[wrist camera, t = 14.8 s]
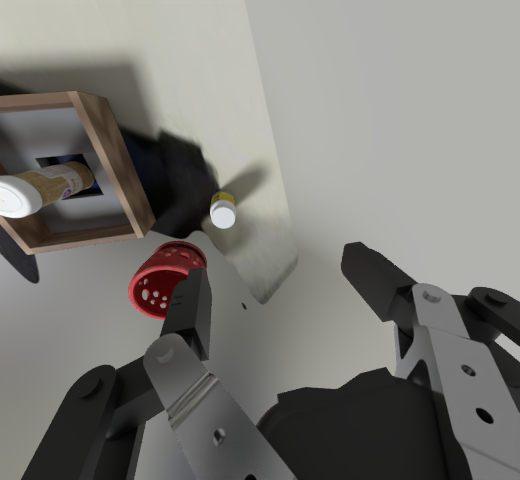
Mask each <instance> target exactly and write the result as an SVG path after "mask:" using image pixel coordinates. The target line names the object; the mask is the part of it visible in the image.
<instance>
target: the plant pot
mask: <svg viewBox="0 0 520 480" xmlns="http://www.w3.org/2000/svg"><path fill="white" fill-rule="evenodd" d="M202 267H204V268H205V271H206V267H207V261H206V257H205V255H204V254H203V252H202V251H201V250H200V249H199V248H198V247H196V246H194V245H193V244H191V243H188V242H184V241H172V242H168V243H165V244H163V245H162V246H160V247H158V248H157V249H156V251H155V252H154V254H153V255H152V256H151V257H150V258H149V259H148V260H147V261H146V262H145V263H144V264H143V265H142V266H141V267H140V268H139V270H138V271H137V272H136V274H135V275H134V277H133V279H132V280H131V283H130V285H129V289H128V292H129V298H130V300H131V302H132V304H133V305H134V306H135V307H136V309H138V310H139V311H140V312H141V313H143V314H145V315H147V316H149V317H152V318H156V319H160V320H165V317H166V314H167V310H168V307H169V303H170V300H171V297H172V293H173V290H174V288H175V287H176V286H177V284H178V283H179V282H180V281H183V280H187V276H188V272H189V270H190V269H196V268H202ZM206 274H207V271H206ZM144 280H146V284H145V285H144ZM143 290H145V291H146V292H147V295H148V298H147V300H144V299H143V298H142V292H143ZM153 292H157V294H158V297H154V295H153ZM163 297H166V298H167V300H165V301H164V300H162V298H163ZM150 301H153V302H154V304H151V302H150ZM160 304H165V305H166V307H165V308H161V307H160Z"/></svg>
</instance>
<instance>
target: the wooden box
mask: <svg viewBox="0 0 520 480" xmlns="http://www.w3.org/2000/svg"><path fill="white" fill-rule="evenodd" d="M72 154H83V156H84V158H85V160H86V161H87V163H88V165H89V167H90V169H91V171H92V173H93V175H94V177H95V179H96V181H97V183H98V185H99V186H100V188H101V190H102V192H103V193H95V194H87V195H79V196H71V197H70V196H68V197H66V198H63V199H61V200H57V201H55V202H53V203H51V204H48V205H46V206H44V207H41V208H40V209H39V210H38V211H37V212H35V213H33V214H30V215H28V216H25V217H21V218H10V217H6V216H2V215H0V224H1V226H2V227H3V228H4V229H5V230H6V231H7V232H8V233H9V235H10V236H11V237H12V238H13V239H14V240H15V241H16V243H17V244H18V245H19V246H20V247H21V248H22V249H23V250H24V252H25V253H26V254H27V255H30V254H36V253H43V252H50V251H56V250H63V249H70V248H77V247H83V246H90V245H96V244H103V243H110V242H117V241H123V240H130V239H137V238H143V237H145V235H146V234H147V232H148V231H149V230H150V228H151V227H152V225H153V224H154V223H155V221H156V219H155V217H154V215H153V212H152V210H151V207H150V205H149V202H148V200H147V197H146V195H145V192H144V190H143V187H142V185H141V182H140V180H139V177H138V175H137V172H136V170H135V167H134V165H133V162H132V160H131V158H130V155H129V153H128V150H127V148H126V145H125V143H124V140H123V138H122V135H121V133H120V130H119V128H118V125H117V123H116V120H115V118H114V115H113V113H112V110H111V108H110V105H109V103H108V101H107V99H106V98H102V97H99V96H95V95H91V94H87V93H83V92H79V91H67V92H52V93H37V94H22V95H8V96H0V176H8V175H10V176H11V175H15V174H20V173H23V172H26V171H30V170H35V169H40V168H44V167H49V166H51V165H50V163H49V162H48V160H47V158H46V157H52V156H62V155H72Z"/></svg>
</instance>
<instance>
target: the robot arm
mask: <svg viewBox="0 0 520 480" xmlns="http://www.w3.org/2000/svg"><path fill="white" fill-rule="evenodd" d="M341 270H342V273H343V275H344V276H345V277H346V278H347V280H348V281H349V282H350V283H351V284H352V286H353V287H354V288H355V289H356V290H357V292H358V293H359V294H360V295H361V296H362V298H363V299H364V300H365V301H366V303H367V304H368V305H369V306H370V307H371V309H372V310H373V311H374V312H375V313H376V315H377V316H378V317H379V318H380V319H381V321H382V322H386V321H391V320H393V321H394V322H395V326H394V336H395V347H396V361H397V365H396V371H395V376H392V375H391V374H390V372H389V371H388V369H387V368H386V367H384V368H380V369H376V370H372V371H368V372H364V373H360V374H359V375H358V376H356V377H355V378H353V379H352V380H350V381H349V382H347V383H346V384H345V385H343V386H342V387H340V388H338V389H324V388H310V387H305V388H300V389H296V390H292V391H288V392H284V393H280V394H277V398H278V403H277V404H275V405H274V406H273V407H271V408H270V409H269V410H268V411H267V412H266V413H265V414H264V415H263V416H262V417H261V419H260V420H259V422H258V423H257V425H256V426H255V425H254V424H253V423H252V421H251V420H250V419H249V418H248V416H247V415H246V414H245V413H244V411H243V410H242V409H241V407H240V406H239V405H238V404H237V403H236V401H235V400H234V399H233V398H232V396H231V395H230V394H229V393H228V391H227V390H226V389H225V387H224V386H223V385H222V384H221V382H220V381H219V380H218V379H217V378H216V376H215V375H213V374H211V373H210V372H209V371H208V370H207V369H206V367H205V366H204V365H203V364H202V362H201V361H205V360H209V359H208V358H209V342H210V324H211V306H212V294H211V288H210V284H209V281H208V277H207V274H206V271H205V268H204V267H202V268H196V269H190V270H189V272H188V276H187V280H183V281H180V282H179V283H178V284H177V286H176V287H175V288H174V290H173V293H172V297H171V300H170V303H169V307H168V310H167V314H166V317H165V320H164V324H163V327H162V331H161V334H160V337H159V338H158V339H157V340H155V341H154V342H153V343H152V344H151V345H150V346H149V348H148V349H147V351H146V353H145V355H143V356H142V357H140V358H138V359H137V360H135V361H133V362H131V363H129V364H127V365H125V366H123V367H121V368H119V369H117V370H115V368H114V367H113V366H111V365H101V366H98V367H96V368H93V369H92V370H90V371H88V372H87V373H85V374H84V375H83V376H81V377H80V378H79V379H78V380H77V381H76V382H75V383H74V384H73V386H72V387H71V388H70V389H69V391H68V392H67V394H66V396H65V398H64V400H63V402H62V403H61V405H60V407H59V409H58V411H57V413H56V415H55V416H54V419H53V420H52V422H51V424H50V426H49V428H48V430H47V432H46V433H45V435H44V437H43V439H42V441H41V443H40V445H39V446H38V448H37V450H36V452H35V454H34V456H33V458H32V460H31V462H30V463H29V465H28V467H27V469H26V471H25V473H24V475H23V477H22V479H21V480H134V476H135V472H136V467H137V462H138V457H139V452H140V447H141V443H142V438H143V433H144V429H145V424H146V421H148V420H149V419H151V418H152V417H154V416H155V415H157V414H158V413H160V412H162V411H163V410H166V412H167V414H168V416H169V419H168V420H169V423H170V425H171V428H172V430H173V432H174V434H175V436H176V438H177V440H178V442H179V444H180V446H181V448H182V451H183V453H184V454H185V457H186V459H187V460H188V463H189V465H190V467H191V469H192V471H193V473H194V475H195V477H196V479H197V480H520V414H519V413H520V362H519V361H518V360H517V359H515V358H514V357H513V356H512V355H510V354H509V353H508V352H507V351H506V350H504V349H503V348H502V347H501V346H499V345H498V344H497V343H496V342H495V341H494V340H495V339H496V338H497V337H498V336H499V335H500V334H501V333H503V334H504V335H505V336H507V337H508V338H509V339H511V340H512V341H513V342H514V343H516V344H517V345H518V346H520V302H519V301H517V300H515V299H513V298H512V297H510V296H509V295H507V294H505V293H503V292H500V291H498V290H495V289H491V288H487V287H475V288H473V289H472V290H471V292H470V293H469V294H468V296H462V295H450V294H449V293H447V292H446V291H444V290H443V289H441V288H439V287H436V286H434V285H430V284H424V283H417V282H416V281H415V280H413V279H412V278H411V277H410V276H408V275H407V274H406V273H404V272H403V271H402V270H401V269H399V268H398V267H397V266H396V265H394V264H393V263H392V262H391V261H389V260H387V258H386V257H384V256H383V255H382V254H381V253H379V252H377V251H374V250H372V249H369V248H368V247H367V246H365V245H364V244H363V243H361V242H354V243H348V244H346V245H345V246H344V251H343V256H342V262H341Z"/></svg>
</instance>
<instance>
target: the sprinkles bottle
mask: <svg viewBox="0 0 520 480" xmlns="http://www.w3.org/2000/svg"><path fill="white" fill-rule="evenodd" d="M93 184H94V176H93V173H92V172H91V171H90V169H89V168H87V167H86V166H85V165H83V164H82V163H78V162H74V161H70V162H67V163H65V164H61V165H53V166H49V167H44V168H40V169H35V170H30V171H26V172H23V173H20V174H15V175H11V176H10V175H8V176H0V215H2V216H6V217H10V218H21V217H25V216H28V215H30V214H33V213H35V212H37V211H38V210H39V209H40V208H41V207H44V206H46V205H48V204H51V203H53V202H55V201H57V200H61V199H63V198H66V197H68V196H70V195H73V194H75V193H77V192H79V191H81V190H83V189H87V188H90V187H91V186H92V185H93Z"/></svg>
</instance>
